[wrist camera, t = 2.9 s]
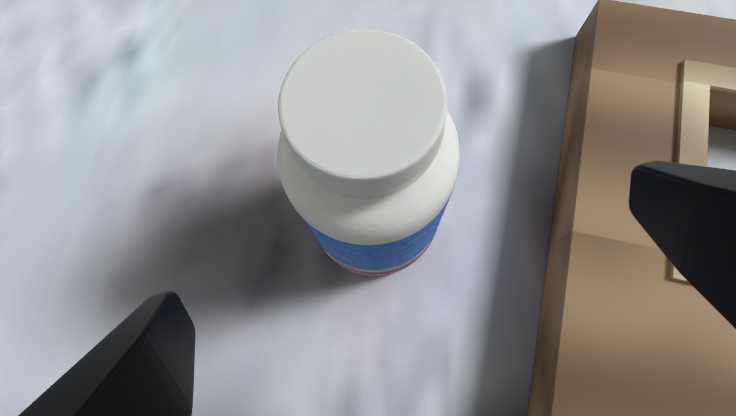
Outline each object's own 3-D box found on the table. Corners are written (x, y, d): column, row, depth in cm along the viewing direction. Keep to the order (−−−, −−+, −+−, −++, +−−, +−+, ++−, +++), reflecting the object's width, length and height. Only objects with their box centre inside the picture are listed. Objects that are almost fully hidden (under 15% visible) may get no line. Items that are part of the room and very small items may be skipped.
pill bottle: (460, 239, 19) (530, 147, 10) (348, 300, 19) (311, 262, 9) (398, 137, 21) (407, -29, 11) (292, 190, 20) (212, 63, 11)
